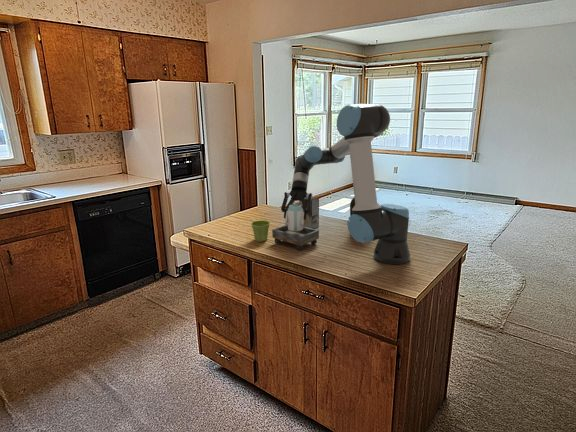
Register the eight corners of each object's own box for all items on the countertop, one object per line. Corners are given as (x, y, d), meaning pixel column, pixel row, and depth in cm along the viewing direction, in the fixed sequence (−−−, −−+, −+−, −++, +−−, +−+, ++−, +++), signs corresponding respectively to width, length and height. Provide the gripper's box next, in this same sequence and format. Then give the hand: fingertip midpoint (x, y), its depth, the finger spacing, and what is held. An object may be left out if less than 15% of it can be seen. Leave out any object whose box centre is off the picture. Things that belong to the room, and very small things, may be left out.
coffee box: (319, 226, 205) (319, 198, 201) (312, 229, 201) (312, 200, 196) (306, 223, 211) (306, 195, 207) (299, 226, 207) (299, 197, 202)
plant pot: (267, 243, 181) (267, 226, 179) (249, 242, 183) (248, 225, 181) (272, 237, 190) (272, 220, 188) (254, 236, 192) (253, 220, 189)
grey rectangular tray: (318, 244, 179) (318, 230, 177) (301, 252, 170) (301, 237, 168) (290, 236, 191) (290, 223, 189) (272, 243, 181) (272, 229, 179)
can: (288, 227, 183) (287, 203, 179) (302, 227, 182) (302, 203, 179) (287, 232, 176) (287, 207, 172) (302, 232, 176) (302, 207, 172)
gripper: (320, 188, 187) (315, 229, 176) (281, 187, 191) (274, 227, 180) (319, 179, 180) (314, 222, 169) (279, 178, 184) (271, 220, 174)
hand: (293, 224), depth 175 cm, fingers closed on can, 7 cm apart
